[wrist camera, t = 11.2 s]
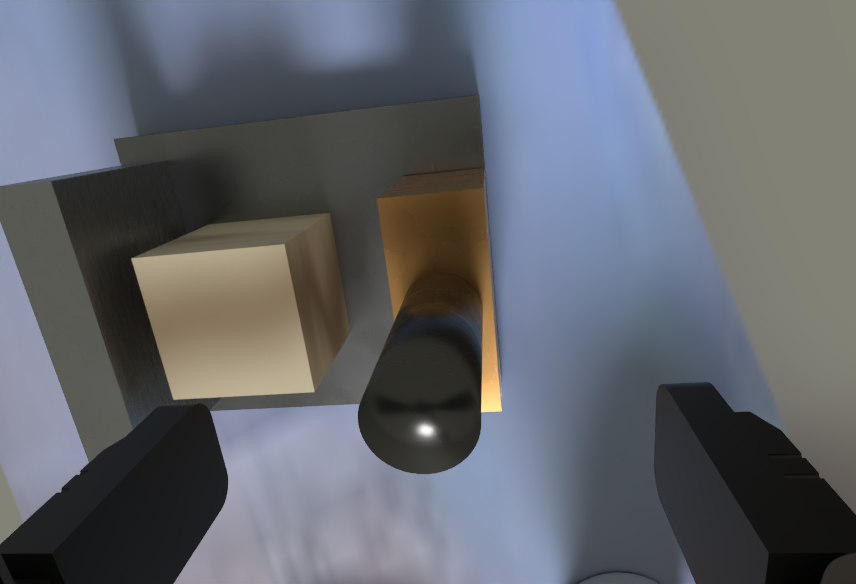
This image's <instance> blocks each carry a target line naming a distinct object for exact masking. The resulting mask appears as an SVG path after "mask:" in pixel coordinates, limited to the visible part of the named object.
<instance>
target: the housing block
mask: <svg viewBox="0 0 856 584" xmlns="http://www.w3.org/2000/svg"><path fill="white" fill-rule="evenodd" d="M131 259H132V263H133V266H134V269H135V273H136V276H137V280H138V283H139V286H140V290H141V293H142V296H143V300H144V303H145V306H146V310H147V313H148V316H149V320H150V323H151V326H152V330H153V333H154V336H155V340H156V343H157V346H158V350H159V353H160V356H161V360H162V363H163V366H164V370H165V373H166V376H167V380H168V383H169V386H170V390H171V393H172V396H173V400H177V399H196V398H215V397H234V396H252V395H271V394H290V393H309V392H315V391H316V389H317V387H318V386H319V384H320V382H321V381H322V379H323V377H324V376H325V374H326V372H327V371H328V369H329V367H330V366H331V364H332V362H333V361H334V359H335V357H336V356H337V354H338V352H339V350H340V349H341V347H342V345H343V344H344V342H345V340H346V339H347V337H348V335H349V334H350V332H351V331H350V325H349V320H348V314H347V308H346V302H345V297H344V291H343V285H342V279H341V274H340V268H339V262H338V256H337V251H336V245H335V239H334V233H333V228H332V222H331V216H330V213H321V214H311V215H301V216H291V217H281V218H271V219H260V220H250V221H240V222H230V223H220V224H210V225H207V226H204V227H202V228H200V229H198V230H195V231H193V232H191V233H188V234H186V235H184V236H181V237H179V238H177V239H175V240H172V241H170V242H168V243H165V244H163V245H161V246H158V247H156V248H154V249H152V250H149V251H147V252H145V253H142V254H140V255H138V256H135V257H133V258H131Z"/></svg>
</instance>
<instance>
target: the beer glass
mask: <svg viewBox="0 0 856 584" xmlns="http://www.w3.org/2000/svg"><path fill="white" fill-rule="evenodd" d="M579 584H659V583H657V582H655V581H654V580H651V579H649V578H647V577H644V576H641V575H637V574H632V573H623V572H614V573H605V574H600V575H596V576H593V577H590V578H588V579H586V580H584V581H582V582H580V583H579Z"/></svg>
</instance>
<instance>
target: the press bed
mask: <svg viewBox="0 0 856 584" xmlns="http://www.w3.org/2000/svg"><path fill="white" fill-rule="evenodd" d="M114 142H115V145H116V149H117V152H118V156H119V159H120V162H121V166H116V167H110V168H104V169H98V170H93V171H87V172H81V173H75V174H69V175H63V176H57V177H51V178H45V179H39V180H33V181H28V182H22V183H16V184H10V185H4V186H0V222H1V224H2V227H3V230H4V233H5V235H6V238H7V241H8V243H9V246H10V249H11V252H12V254H13V257H14V260H15V262H16V265H17V268H18V271H19V273H20V276H21V279H22V281H23V284H24V287H25V290H26V292H27V295H28V298H29V300H30V303H31V306H32V309H33V311H34V314H35V317H36V319H37V322H38V325H39V328H40V330H41V333H42V336H43V338H44V341H45V344H46V347H47V349H48V352H49V355H50V358H51V360H52V363H53V366H54V368H55V371H56V374H57V377H58V379H59V382H60V385H61V387H62V390H63V393H64V396H65V398H66V401H67V404H68V406H69V409H70V412H71V415H72V417H73V420H74V423H75V425H76V428H77V431H78V434H79V436H80V439H81V442H82V444H83V447H84V450H85V453H86V455H87V458H88V461H89V463H90V462H91V461H92V460H93V459H94V458H95V457H96V456H97V455H98V454H99V453H100V452H102V451H103V450H104V449H106V448H108V447H109V446H111V445H113V444H114V443H116V442H118V441H119V440H121V439H122V438H124V437H126V436H127V435H128V434H129V433H130V432H131V431H132V430H133V429H134V428H135V427H136V426H137V425H138V424H140V423H141V422H142V421H143V420H144V419H145V418H146V417H147V416H148V415H149V414H150V413H151V412H152V411H153V410H154V409H156V408H157V407H159V406H161V405H172V404H194V403H201V404H204V405H205V406H206V407H207V408H208V409H209V411H218V410H239V409H260V408H281V407H302V406H323V405H344V404H360V402H361V399H362V396H363V394H364V392H365V389H366V387H367V385H368V382H369V380H370V378H371V375H372V373H373V371H374V368H375V366H376V363H377V361H378V359H379V356H380V354H381V352H382V349H383V347H384V345H385V342H386V340H387V338H388V335H389V333H390V330H391V328H392V326H393V323H394V316H393V309H392V302H391V295H390V288H389V281H388V274H387V267H386V260H385V253H384V246H383V239H382V232H381V225H380V218H379V211H378V204H377V198H378V197H379V196H380V195H382V194H383V193H384V192H385V191H386V190H387V189H389V188H390V187H391V186H392V185H393V184H394V183H396V182H397V181H398V180H399V179H400V178H401V177H402V176H411V175H420V174H430V173H440V172H449V171H459V170H468V169H478V168H484V170H485V163H484V150H483V137H482V125H481V112H480V99H479V95H472V96H464V97H456V98H447V99H439V100H431V101H423V102H415V103H406V104H398V105H390V106H382V107H374V108H365V109H357V110H349V111H341V112H332V113H324V114H316V115H308V116H300V117H291V118H283V119H275V120H267V121H259V122H250V123H242V124H234V125H226V126H218V127H209V128H201V129H193V130H185V131H177V132H168V133H160V134H152V135H144V136H136V137H127V138H119V139H114ZM485 183H486V176H485ZM486 196H487V189H486ZM487 208H488V201H487ZM321 213H330V216H331V222H332V228H333V233H334V239H335V245H336V251H337V256H338V262H339V268H340V274H341V279H342V285H343V291H344V297H345V302H346V308H347V314H348V320H349V325H350V331H351V332H350V334H349V335H348V337H347V339H346V340H345V342H344V344H343V345H342V347H341V349H340V350H339V352H338V354H337V356H336V357H335V359H334V361H333V362H332V364H331V366H330V367H329V369H328V371H327V372H326V374H325V376H324V377H323V379H322V381H321V382H320V384H319V386H318V387H317V389H316V391H315V392H309V393H290V394H271V395H252V396H234V397H215V398H196V399H177V400H173V396H172V393H171V390H170V386H169V383H168V380H167V376H166V373H165V370H164V366H163V363H162V360H161V356H160V353H159V350H158V346H157V343H156V340H155V336H154V333H153V330H152V326H151V323H150V320H149V316H148V313H147V310H146V306H145V303H144V300H143V296H142V293H141V290H140V286H139V283H138V280H137V276H136V273H135V269H134V266H133V263H132V259H131V258H133V257H135V256H138V255H140V254H142V253H145V252H147V251H149V250H152V249H154V248H156V247H158V246H161V245H163V244H165V243H168V242H170V241H172V240H175V239H177V238H179V237H181V236H184V235H186V234H188V233H191V232H193V231H195V230H198V229H200V228H202V227H204V226H207V225H210V224H220V223H230V222H240V221H250V220H260V219H271V218H281V217H291V216H301V215H311V214H321ZM488 221H489V214H488ZM489 234H490V227H489ZM490 247H491V240H490ZM491 259H492V253H491ZM492 272H493V265H492ZM493 285H494V278H493ZM494 297H495V291H494ZM495 310H496V304H495ZM496 323H497V316H496ZM497 336H498V329H497ZM498 351H499V342H498ZM499 372H500V393H501V397H502V381H501V368H500V355H499Z"/></svg>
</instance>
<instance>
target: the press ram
mask: <svg viewBox="0 0 856 584" xmlns="http://www.w3.org/2000/svg"><path fill="white" fill-rule="evenodd" d="M377 204H378V211H379V218H380V225H381V232H382V239H383V246H384V253H385V260H386V267H387V274H388V281H389V288H390V295H391V302H392V309H393V316H394V323H393V326H392V328H391V330H390V333H389V335H388V338H387V340H386V342H385V345H384V347H383V349H382V352H381V354H380V356H379V359H378V361H377V363H376V366H375V368H374V371H373V373H372V375H371V378H370V380H369V382H368V385H367V387H366V389H365V392H364V394H363V396H362V399H361V402H360V405H359V410H358V423H359V428H360V432H361V434H362V437H363V439H364V441H365V442H366V444H367V446H368V447H369V448H370V450H371V451H372V452H373V453H374V454H375V455H376V456H377V457H378V458H380V459H381V460H382V461H384V462H385V463H387V464H388V465H390V466H392V467H394V468H396V469H399V470H402V471H405V472H409V473H416V474H432V473H438V472H442V471H445V470H448V469H450V468H452V467H455V466H456V465H458V464H459V463H461V462H462V461H463V460H464V459H466V458H467V457H468V456H469V454H470V453H471V452H472V451H473V449H474V448H475V446H476V444H477V442H478V439H479V435H480V430H481V412H493V411H501V393H500V372H499V351H498V336H497V323H496V310H495V297H494V285H493V272H492V259H491V247H490V234H489V221H488V208H487V196H486V183H485V170H484V168H478V169H468V170H459V171H449V172H440V173H430V174H420V175H411V176H402V177H401V178H400V179H399V180H398V181H397V182H396V183H394V184H393V185H392V186H391V187H390V188H389V189H387V190H386V191H385V192H384V193H383V194H382V195H380V196H379V197H378V198H377Z"/></svg>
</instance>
